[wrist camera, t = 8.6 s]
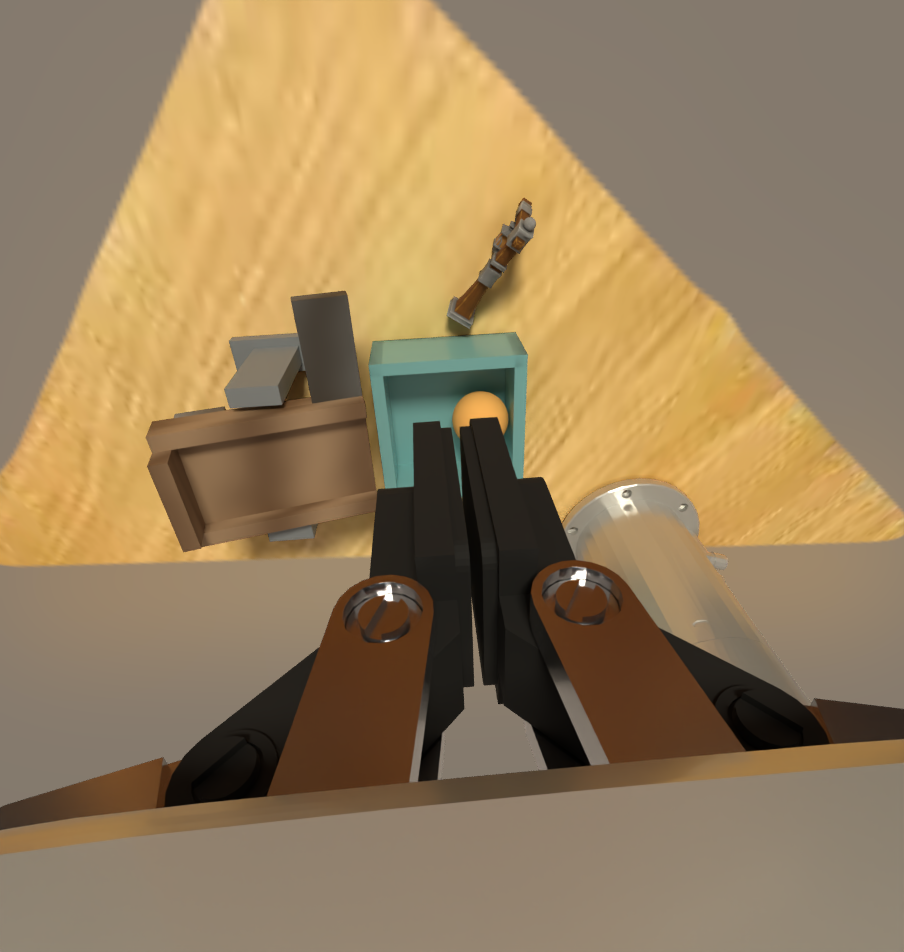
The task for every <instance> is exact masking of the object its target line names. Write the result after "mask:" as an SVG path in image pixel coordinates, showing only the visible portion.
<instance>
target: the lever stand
mask: <svg viewBox="0 0 904 952" xmlns="http://www.w3.org/2000/svg"><path fill="white" fill-rule="evenodd" d="M229 343H230V347H231V350H232V354H233V357H234V361H235V365H236V368H237V372H236V374H235V375H234V376H233V378H232V379H231V380H230V382H229V383H228V385H227V386H226V387H225V389H224V390H225V394H226V397H227V400H228V404H229V407H230V408H243V407H257V406H272V405H282V404H283V402H284V400H285V398H286V396H287V394H288V392H289V389H290V387H291V385H292V383H293V381H294V379H295V377H296V375H297V373H298V371H305V366H304V361H303V356H302V351H301V347H300V342H299V337H298V333H293V334H277V335H261V336H246V337H232V338H231V339H230V341H229ZM317 524H318V523H317ZM317 524H312V525H307V526H302V527H297V528H292V529H287V530H283V531H278V532H273V533H268V537H269V540H270V542H271V541H284V540H297V539H310V538H314V537H315V533H316V529H317Z"/></svg>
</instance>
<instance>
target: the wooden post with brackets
mask: <svg viewBox="0 0 904 952" xmlns="http://www.w3.org/2000/svg"><path fill="white" fill-rule="evenodd" d="M531 205H532V203H531V202H529V201H528V200H527V199H525V198H523V199H522V201H521V202H520V203H519V207H518V209H517V211H516V216H515V217H516V218H515V221H516V222H513V221H511V223H510V226H507V225H505V224H503V226H502V231H501V233H500V234H499V235H498V236H497V237H496V238H495V239H494V243H493V248H492V250H493V253H494V254H493V255H492V258H491V259H489V261H488V263H487V264H486V265H485V267H484V268H483V269H482V270H481V271H480V273H479V277H478V279H477V280H476V281H475V283H474V284H473V285H472V286H471V287H470V288H469V289H468V290H467V291H466V292H465V294H464V295H463V296H461V297H460V298H459V299H458V298H456V297H455V296H454V298H453V299H452V300H451V301H450V305H449V309H448V313H447V316H448V317H450V318H452V319H453V320H455V321H457V322H459V323H460V324H462V325H464V326H465V327H467V328H469V329H470V327H471V325H472V324H473V319H474V314H475V308H476V306H477V305H478V303H479V301H480V299H481V298H482V296H483V294H484V293H485V292H486V290H487V289H488V287H489V288H491V287H492V285H493V284H494V283H495V281H496V280H497V279H498V278H499V277H500V276H501V274H502V272H503V273H504V271H505V270H506V269H507V264H508V263H509V261H510V260H511V259H512V258H513V256H514V255H515V254H516V253H519V254H520V252H521V250H522V249H523V248H524V246H525V245H526V244H527V243H528V242H529V240H531V239H532V238H533V234H534V228H535V226H536V222H535V220H534V219H533V218H532V217H530V216H531V214H532V209H531V207H532V206H531Z"/></svg>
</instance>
